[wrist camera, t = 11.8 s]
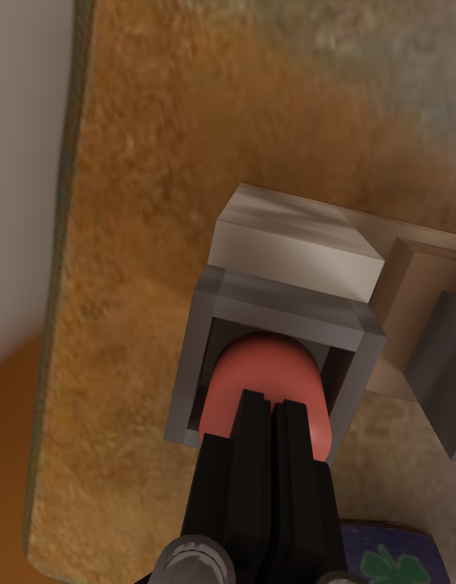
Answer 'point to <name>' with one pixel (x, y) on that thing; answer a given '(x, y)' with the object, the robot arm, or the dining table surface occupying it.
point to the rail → (291, 296)
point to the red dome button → (266, 384)
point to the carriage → (419, 333)
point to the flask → (391, 553)
